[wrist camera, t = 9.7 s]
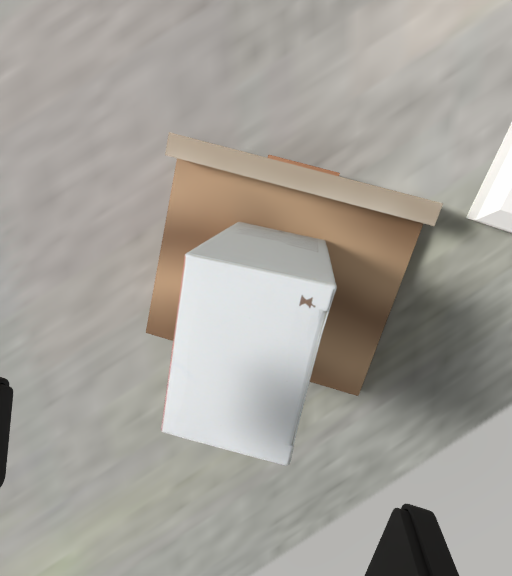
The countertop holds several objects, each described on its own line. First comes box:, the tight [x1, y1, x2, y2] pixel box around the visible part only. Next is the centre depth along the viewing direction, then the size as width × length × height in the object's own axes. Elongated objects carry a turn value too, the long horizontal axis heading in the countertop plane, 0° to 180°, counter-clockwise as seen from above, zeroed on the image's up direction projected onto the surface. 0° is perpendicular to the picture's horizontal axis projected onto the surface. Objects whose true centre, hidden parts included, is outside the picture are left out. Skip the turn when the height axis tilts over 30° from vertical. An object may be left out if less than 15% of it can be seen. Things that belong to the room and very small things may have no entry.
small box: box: [161, 222, 337, 465], centre depth 19 cm, size 8×6×10 cm
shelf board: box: [146, 132, 443, 396], centre depth 24 cm, size 13×15×3 cm
